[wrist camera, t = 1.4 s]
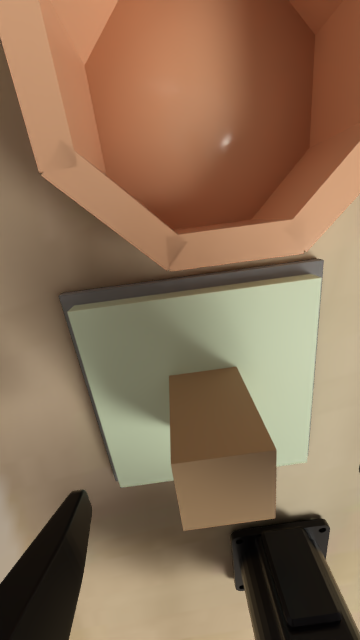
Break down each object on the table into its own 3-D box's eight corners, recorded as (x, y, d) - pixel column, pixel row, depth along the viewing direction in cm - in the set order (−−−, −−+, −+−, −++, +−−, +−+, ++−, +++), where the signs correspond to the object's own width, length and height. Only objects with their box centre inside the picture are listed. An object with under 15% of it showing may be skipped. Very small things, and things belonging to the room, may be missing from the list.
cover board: (299, 449, 14) (366, 565, 10) (122, 474, 14) (101, 602, 10) (311, 273, 11) (428, 317, 6) (74, 305, 11) (-1, 375, 6)
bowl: (319, 233, 11) (401, 240, 7) (104, 261, 11) (71, 285, 7) (342, -94, 7) (523, -415, 4) (32, -53, 7) (-107, -336, 4)
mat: (304, 449, 15) (308, 455, 15) (117, 474, 15) (115, 481, 15) (318, 258, 11) (323, 259, 11) (62, 292, 11) (58, 295, 11)
